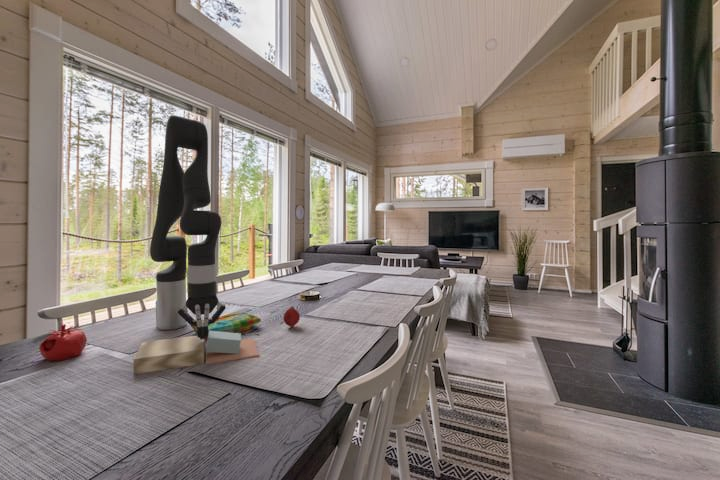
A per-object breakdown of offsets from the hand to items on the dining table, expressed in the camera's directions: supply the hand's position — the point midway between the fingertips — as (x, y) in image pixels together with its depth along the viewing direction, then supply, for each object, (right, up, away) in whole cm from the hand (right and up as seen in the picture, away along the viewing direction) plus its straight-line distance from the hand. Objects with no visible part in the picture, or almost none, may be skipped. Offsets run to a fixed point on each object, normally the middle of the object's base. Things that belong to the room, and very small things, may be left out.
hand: (203, 338), depth 92 cm
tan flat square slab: (+7, -5, +3) cm, 9 cm away
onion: (+21, -4, +25) cm, 32 cm away
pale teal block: (+5, -2, +1) cm, 6 cm away
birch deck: (-7, -5, -3) cm, 9 cm away
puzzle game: (-2, -4, +21) cm, 21 cm away
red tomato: (-39, -5, -2) cm, 39 cm away
